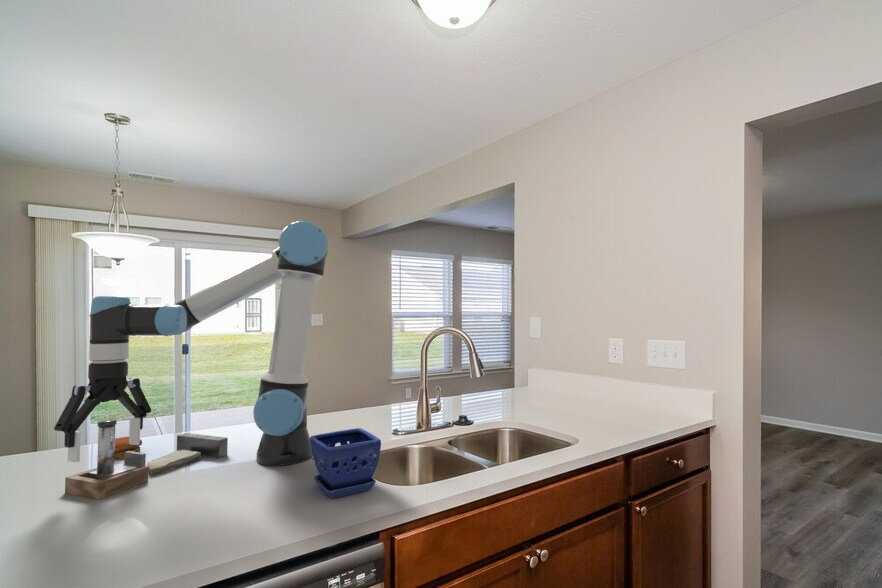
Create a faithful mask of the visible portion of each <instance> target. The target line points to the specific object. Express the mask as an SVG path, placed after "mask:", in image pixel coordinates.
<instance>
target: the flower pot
mask: <svg viewBox="0 0 882 588" xmlns="http://www.w3.org/2000/svg"><path fill="white" fill-rule="evenodd" d="M336 444H340V445H336ZM310 445H311V451H312V460H313V463H314V465H315V468H316V471H317V472H318V474H316V475H314V477H313V479H314V481H315V482H316V484H317V485H318V486H319V487H320V489H322V491H323V492H324V493H325V494H326V495H327V496H328V497H329V498H330V499H335V498H339V497H344V496H347V495H353V494H357V493H362V492H366V491H369V490H371V489H372V488H373V487H374V486H375V485H376V480H375V478H373V476H374V474H375V472H376V470H377V467H378V464H379V461H380V455H381V448H382V440H381V439H380V438H379V437H377V436H376V435H374V434H372V432H371V433H370V432H369V431H367V430H365V429H363V428H360V427H358V428H357V427H356V428H349V429H343V430H337V431H331V432H326V433H320V434H315V435H311V436H310Z"/></svg>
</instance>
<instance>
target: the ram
mask: <svg viewBox="0 0 882 588" xmlns="http://www.w3.org/2000/svg"><path fill="white" fill-rule="evenodd" d="M116 425H117V419H104V420H99V421H98V422H97V427H98V428H97V429H98V432H97V433H98V434H97V456H96V457H97V460H96V461H97V462H96V465H97V466H96V468H97V470H96V471H92V472H89V473H88V478H92V479H97V480H103V479H106V478H109V477H112V476H115V475H118V474H121V473H124V472H127V471H130V470H133V469H136V468H139V467H142V466H146V464H147V462H146V455H147V453H145V452H141V451H140V452H133V451H127V452H125V458H123V459H124V461H122V462H121V463H118V464H115V465H114V462H115V458H114V455H115V438H116Z"/></svg>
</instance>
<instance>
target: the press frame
mask: <svg viewBox="0 0 882 588" xmlns="http://www.w3.org/2000/svg"><path fill="white" fill-rule="evenodd" d="M118 463H121V462H120V461H114V465H115V464H118ZM96 470H97V467H95V468H92V469H88V470H85V471H82V472H79V473H76V474H72V475H69V476H66V477H65V478H64V479H65V481H64V482H65V483H64V486H65V487H64V494H66V495H67V494H68V495H73V496H77V497H78V496H79V497H83V498H88V499H93V500H98V501H99V500H101V499H103V498H107V497H109V496H112V495H115V494H117V493H120V492H123V491H126V490H128V489H130V488H134V487H136V486H139V485H142V484H144V483H148V482H149V471H150V470H149V467H148V466H146V465H145V466H142V467H139V468H136V469H133V470H130V471H127V472H124V473H121V474H118V475H115V476H112V477H109V478H106V479H103V480H97V479H92V478H88V473H89V472H92V471H96Z"/></svg>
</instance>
